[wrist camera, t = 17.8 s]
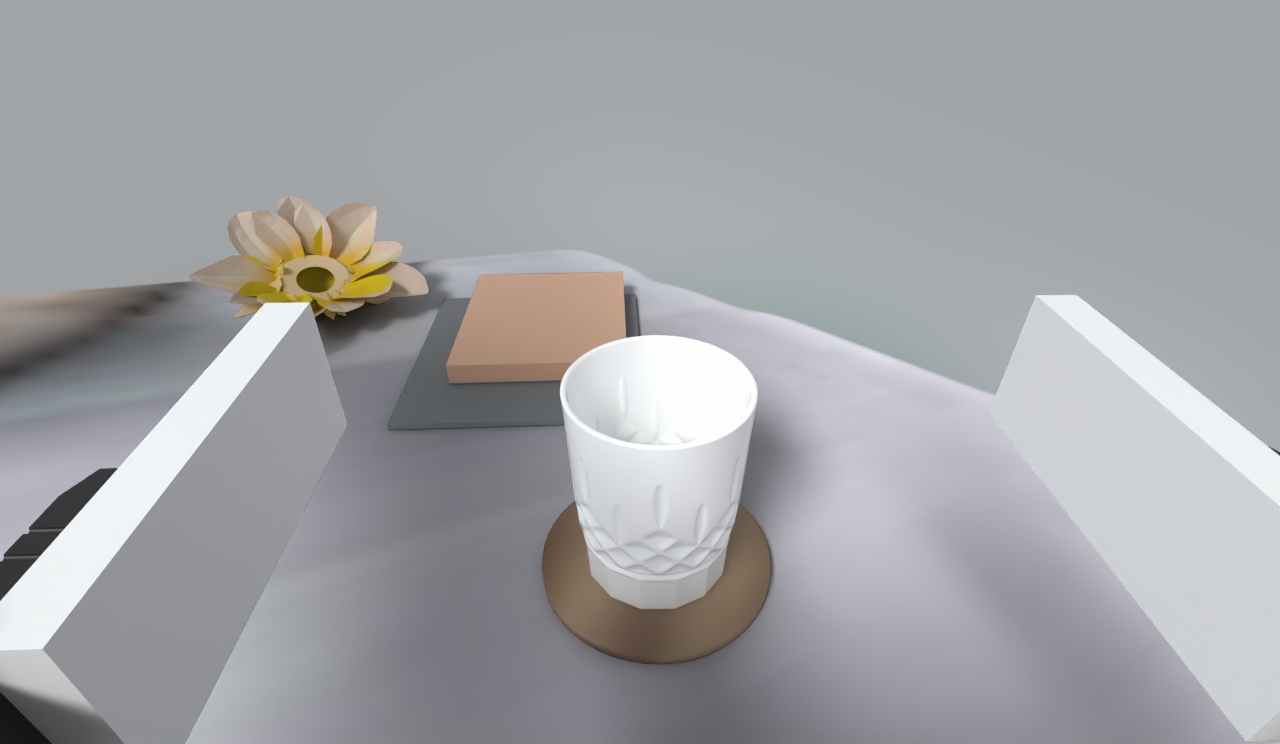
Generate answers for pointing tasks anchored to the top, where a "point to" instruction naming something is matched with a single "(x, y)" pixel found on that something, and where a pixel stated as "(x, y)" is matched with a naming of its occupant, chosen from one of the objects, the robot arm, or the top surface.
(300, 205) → the decorative flower
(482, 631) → the top surface
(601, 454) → the white cup
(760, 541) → the coaster
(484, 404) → the mat
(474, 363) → the tile
